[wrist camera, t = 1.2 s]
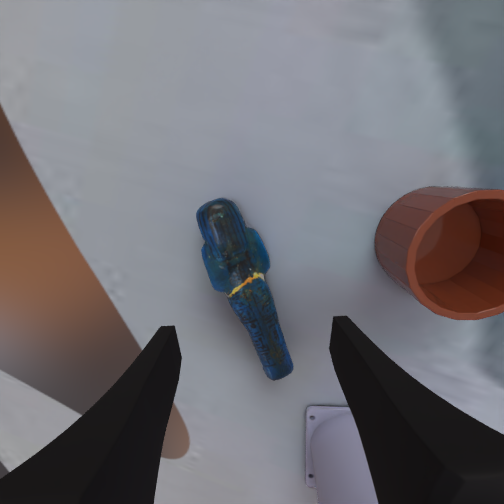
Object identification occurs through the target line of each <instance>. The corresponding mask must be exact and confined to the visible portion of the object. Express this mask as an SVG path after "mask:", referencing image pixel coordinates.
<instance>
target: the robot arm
mask: <svg viewBox="0 0 504 504" xmlns="http://www.w3.org/2000/svg"><path fill="white" fill-rule="evenodd" d="M329 350H330V354H331V358H332V362H333V365H334V369H335V372H336V375H337V377H338V380H339V382H340V385H341V388H342V390H343V393H344V395H345V398H346V400H347V403H348V405H349V407H332V406H309V407H308V408H307V409H306V463H305V482H306V485H307V486H308V487H316V490H317V497H318V504H504V435H503V434H501V433H499V432H498V431H496V430H494V429H492V428H490V427H488V426H486V425H485V424H483V423H481V422H479V421H478V420H476V419H474V418H473V417H471V416H469V415H468V414H466V413H464V412H463V411H461V410H459V409H458V408H456V407H455V406H453V405H451V404H450V403H448V402H447V401H445V400H444V399H442V398H441V397H439V396H438V395H436V394H435V393H433V392H432V391H431V390H429V389H428V388H426V387H425V386H424V385H422V384H421V383H420V382H418V381H417V380H416V379H414V378H413V377H412V376H410V375H409V374H408V373H407V372H405V371H404V370H403V369H402V368H401V367H399V366H398V365H397V364H396V363H395V362H394V361H392V360H391V359H390V358H389V357H388V356H387V355H386V354H385V353H384V352H383V351H382V350H381V349H379V348H378V347H377V346H376V345H375V344H374V343H373V342H372V341H371V340H370V339H369V338H368V337H367V336H366V335H365V334H364V333H363V332H362V331H361V330H360V329H359V328H358V327H357V326H356V325H355V324H354V323H353V322H352V320H351V319H350V318H349V317H347V316H333V323H332V331H331V338H330V346H329ZM181 359H182V356H181V352H180V347H179V343H178V339H177V334H176V330H175V326H161V327H160V328H159V329H158V330H157V332H156V333H155V335H154V336H153V337H152V339H151V340H150V341H149V343H148V344H147V345H146V347H145V348H144V349H143V351H142V352H141V353H140V354H139V356H138V357H137V358H136V359H135V361H134V362H133V363H132V364H131V366H130V367H129V368H128V369H127V370H126V372H125V373H124V374H123V375H122V376H121V377H120V378H119V379H118V381H117V382H116V383H115V384H114V385H113V386H112V387H111V388H110V390H108V392H106V393H105V394H104V395H103V397H101V398H100V400H99V401H97V402H96V403H95V404H94V406H92V407H91V408H90V409H89V410H88V411H87V412H86V413H85V414H84V415H83V416H81V417H80V418H79V419H78V420H77V421H76V422H75V423H74V424H72V425H71V426H70V427H69V428H68V429H67V430H65V431H64V432H63V433H62V434H60V435H59V436H58V437H57V438H56V439H54V440H53V441H52V442H50V443H49V444H48V445H47V446H45V447H44V448H43V449H41V450H40V451H39V452H38V453H36V454H35V455H34V456H32V457H31V458H29V459H28V460H27V461H25V462H24V463H22V464H21V465H20V466H18V467H17V468H15V469H14V470H12V471H11V472H10V473H8V474H7V475H5V476H4V477H3V478H1V479H0V504H154V496H155V490H156V483H157V477H158V470H159V464H160V458H161V451H162V446H163V440H164V436H165V431H166V427H167V423H168V420H169V416H170V412H171V408H172V404H173V401H174V397H175V393H176V389H177V385H178V381H179V374H180V367H181ZM310 416H313V417H310Z"/></svg>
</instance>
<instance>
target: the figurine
mask: <svg viewBox="0 0 504 504" xmlns="http://www.w3.org/2000/svg"><path fill="white" fill-rule="evenodd" d="M196 218H197V222H198V226H199V229H200V231H201V234H202V237H203V239H204V240H205V244H204V245H203V247H202V249H201V251H202V257H203V260H204V264H205V267H206V269H207V272H208V275H209V278H210V281H211V284H212V286H213V288H214V289H215V290H217V291H219V292H224V293H225V294H226V295H227V298H228V300H229V303H230V305H231V307H232V308H233V310H234V311H235V313H236V315H237V316H238V317H239V319H240V321H241V322H242V323H243V325H244V326H245V327H246V329H247V330H248V332H249V334H250V337H251V339H252V342H253V345H254V347H255V349H256V351H257V354H258V356H259V358H260V361H261V363H262V365H263V370H264V372H265V374H266V375H267V377H268V378H270V379H271V380H273V381H274V380H278V379H281V378H284V377H286V376H287V375H289V374H290V373H291V372H292V371H293V363H292V360H291V358H290V355H289V352H288V349H287V346H286V343H285V340H284V336H283V333H282V331H281V328H280V325H279V322H278V317H277V312H276V309H275V305H274V301H273V298H272V295H271V292H270V290H269V287H268V285H267V283H266V281H265V280H264V275H265V273H266V272H267V271H268V269H269V268H270V261H269V256H268V254H267V251H266V249H265V247H264V244H263V242H262V241H261V239H260V237H259V235H258V233H257V232H256V231H255V230H254V229H252V228H247V227H246V226H245V222H244V220H243V218H242V216H241V213H240V211H239V209H238V208H237V206H236V205H235V204H234V203H233V202H232V201H230V200H228V199H224V198H219V199H216V200H213V201H210V202H208V203H206V204H204V205H203V206H201V207H200V208H199V209H198V211H197V213H196Z"/></svg>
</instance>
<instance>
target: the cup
mask: <svg viewBox="0 0 504 504" xmlns="http://www.w3.org/2000/svg"><path fill="white" fill-rule="evenodd" d="M375 251H376V255H377V259H378V261H379V263H380V265H381V266H382V268H383V269H384V271H385V272H386V273H387V274H388V275H389V276H390V277H391V278H392V279H393V280H394V281H395V282H397V283H398V284H399V285H400V286H401V287H402V288H404V289H405V290H406V291H407V292H408V293H409V294H410V295H412V296H413V297H414V298H415V299H416V300H417V301H419V302H420V303H421V304H422V305H424V306H425V307H427V308H428V309H429V310H431V311H432V312H434V313H435V314H437V315H441V316H444V317H448V318H451V319H454V320H479V319H483V318H487V317H490V316H494V315H498V314H500V313H502V312H504V190H499V189H482V188H465V187H448V186H446V187H436V186H434V187H425V188H421V189H418V190H415V191H412V192H410V193H408V194H406V195H404V196H403V197H401V198H400V199H398V200H397V201H396V202H395V203H394V204H393V205H392V206H391V207H390V208H389V209H388V210H387V211H386V213H385V214H384V215H383V217H382V219H381V221H380V223H379V225H378V228H377V231H376V236H375Z"/></svg>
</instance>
